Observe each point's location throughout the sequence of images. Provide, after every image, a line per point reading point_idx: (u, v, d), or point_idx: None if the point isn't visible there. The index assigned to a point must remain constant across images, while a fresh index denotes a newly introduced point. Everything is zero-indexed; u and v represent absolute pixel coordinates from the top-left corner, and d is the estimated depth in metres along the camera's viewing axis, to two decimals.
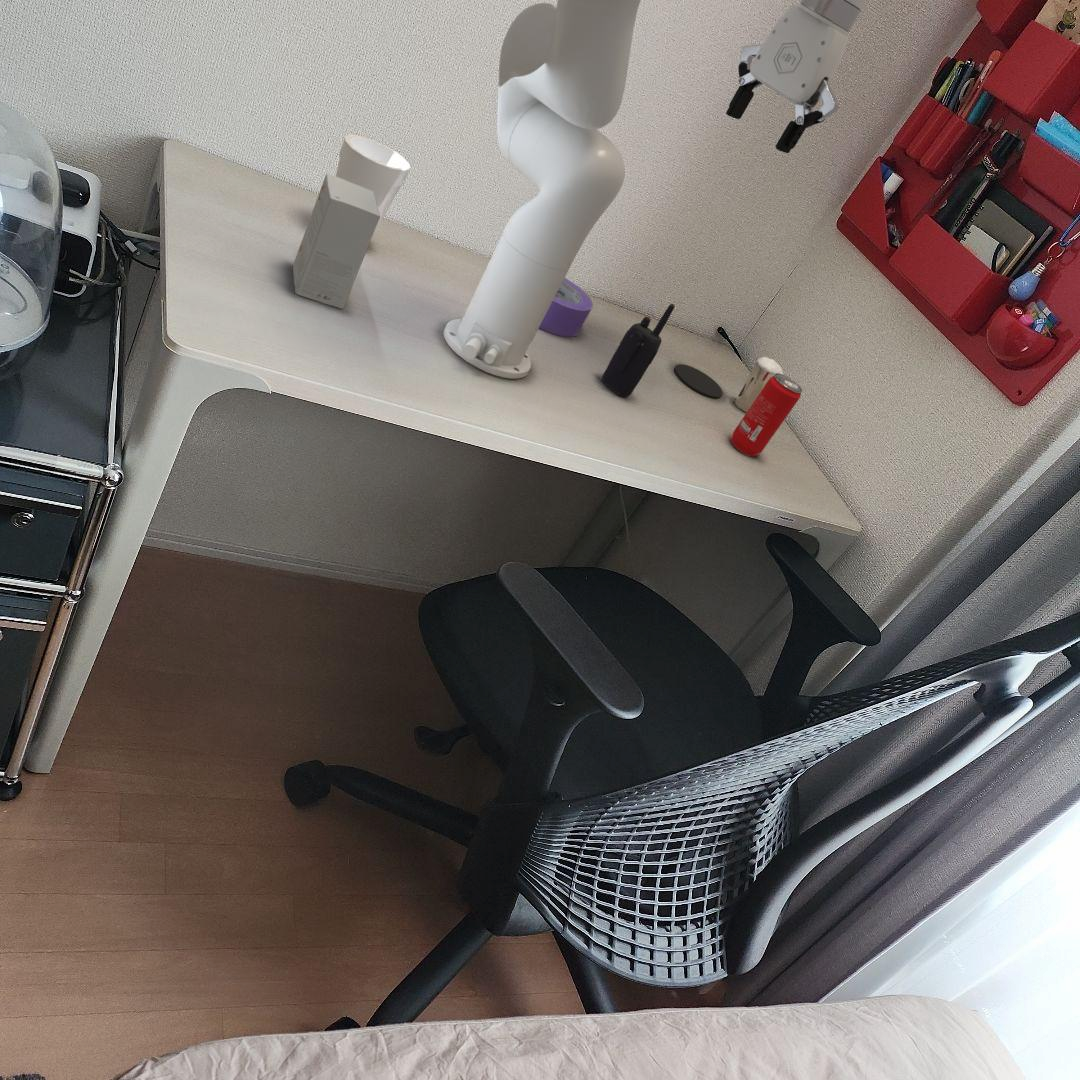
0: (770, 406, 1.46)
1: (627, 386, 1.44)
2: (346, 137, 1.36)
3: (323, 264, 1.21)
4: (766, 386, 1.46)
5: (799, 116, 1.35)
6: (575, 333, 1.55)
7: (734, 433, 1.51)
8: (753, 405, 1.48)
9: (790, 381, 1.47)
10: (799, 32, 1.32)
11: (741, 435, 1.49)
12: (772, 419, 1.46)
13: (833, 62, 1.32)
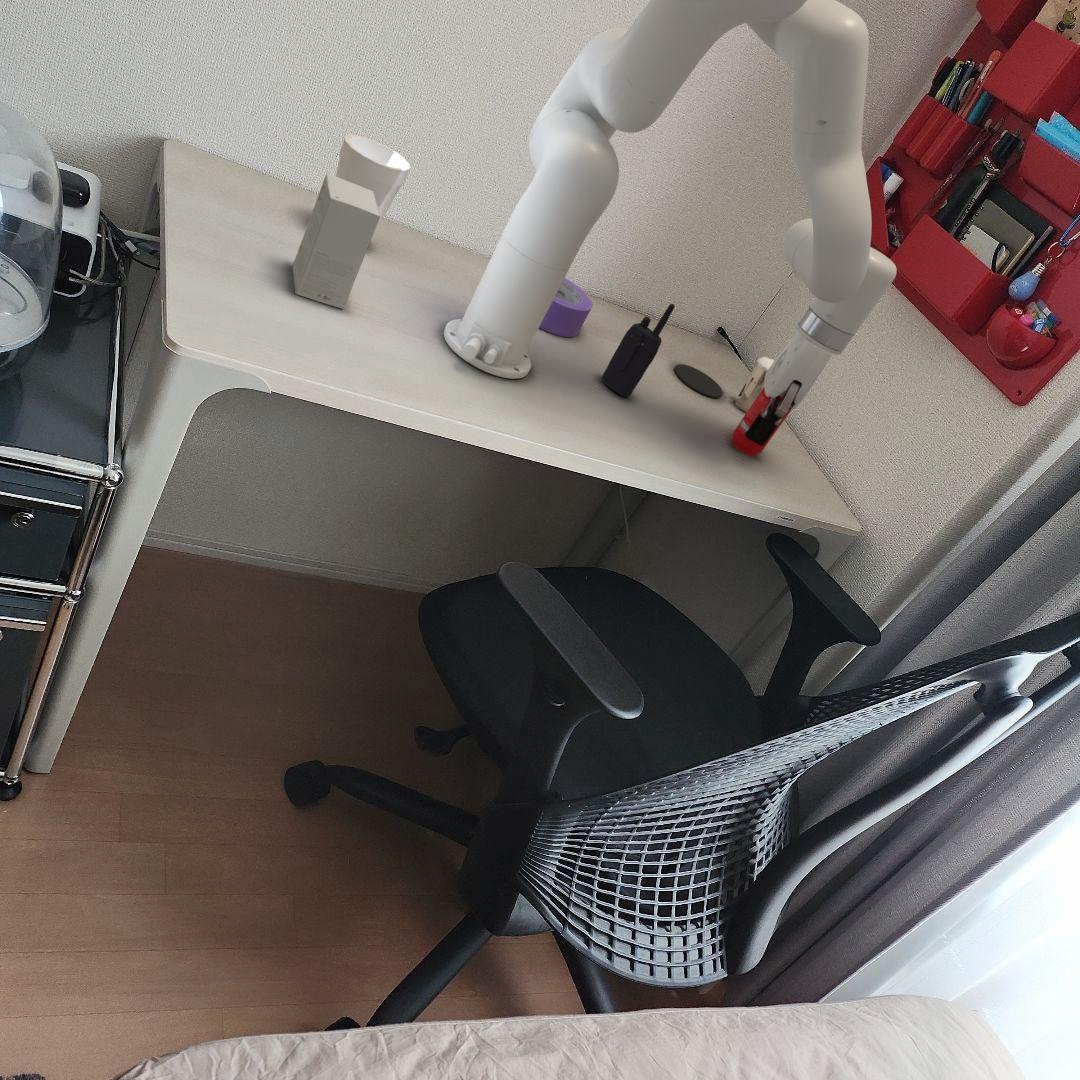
0: None
1: (627, 386, 1.44)
2: (346, 137, 1.36)
3: (323, 264, 1.21)
4: None
5: (764, 410, 1.45)
6: (575, 333, 1.55)
7: (734, 433, 1.51)
8: (753, 405, 1.48)
9: None
10: (792, 342, 1.43)
11: (741, 435, 1.49)
12: None
13: (803, 368, 1.40)
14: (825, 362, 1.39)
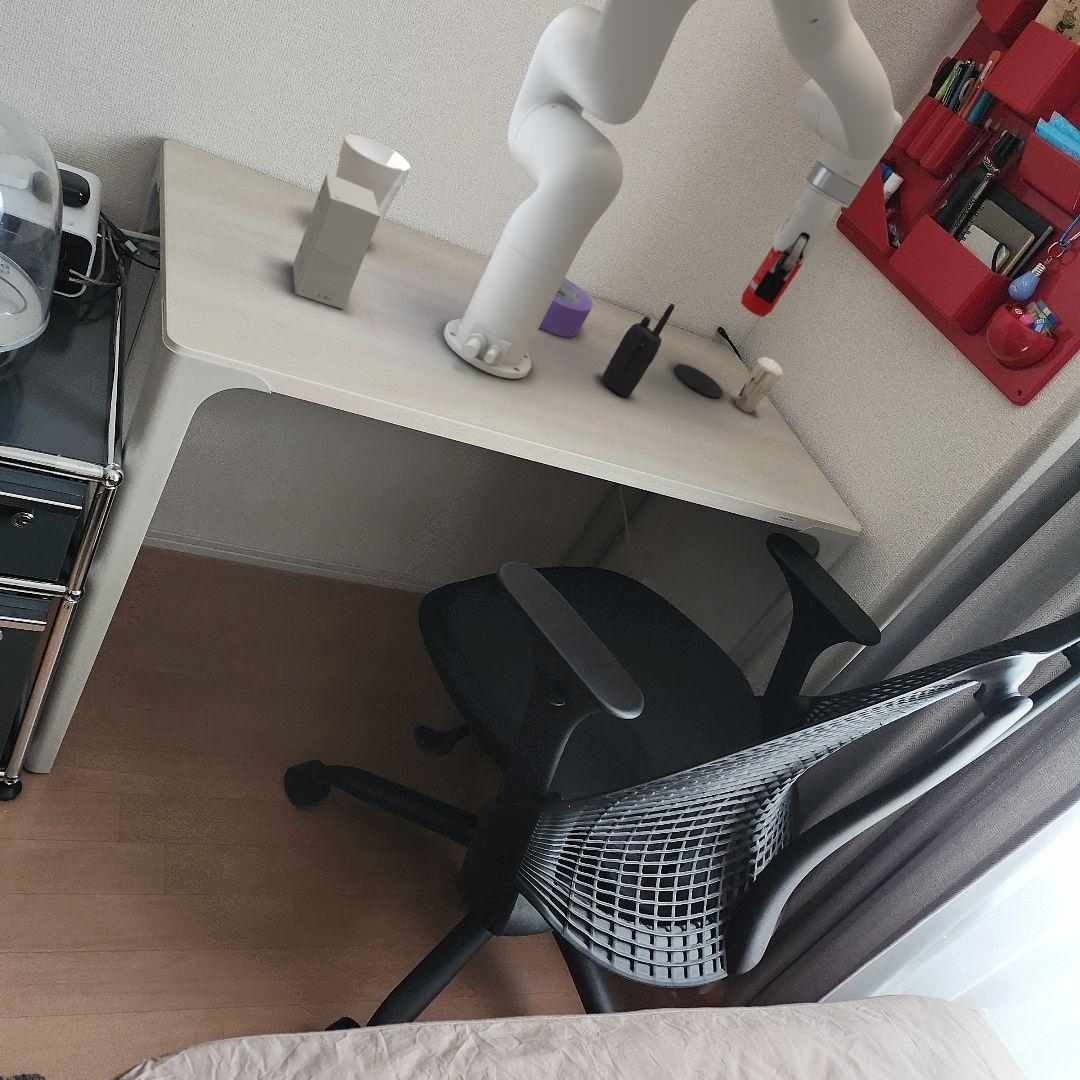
0: None
1: (627, 386, 1.44)
2: (346, 137, 1.36)
3: (323, 264, 1.21)
4: None
5: (773, 266, 1.49)
6: (575, 333, 1.55)
7: (743, 294, 1.55)
8: (762, 264, 1.52)
9: None
10: (800, 198, 1.47)
11: (751, 294, 1.53)
12: None
13: (811, 219, 1.44)
14: (832, 213, 1.43)
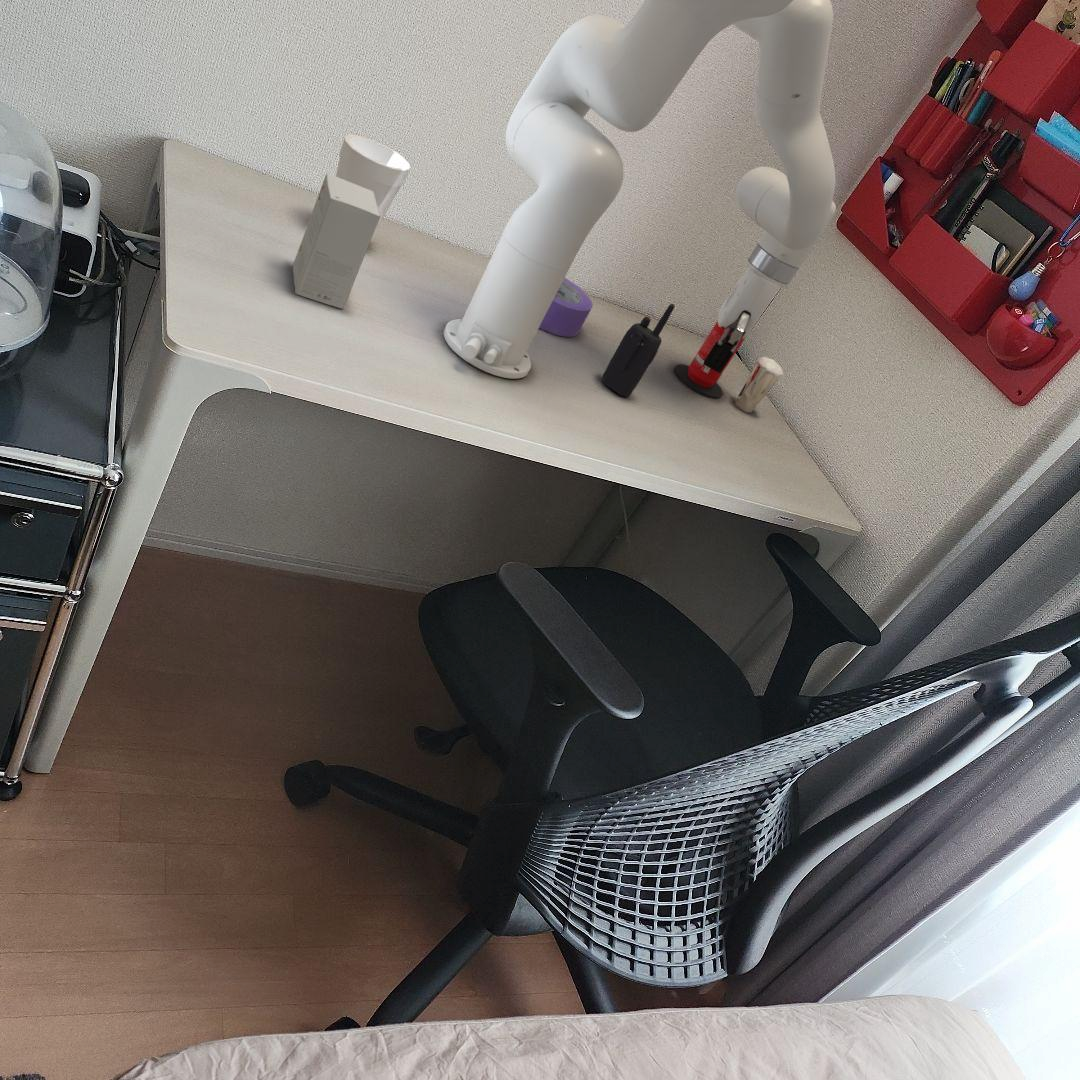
0: None
1: (627, 386, 1.44)
2: (346, 137, 1.36)
3: (323, 264, 1.21)
4: None
5: (720, 338, 1.56)
6: (575, 333, 1.55)
7: (690, 366, 1.63)
8: (706, 340, 1.61)
9: None
10: (742, 276, 1.56)
11: (696, 367, 1.62)
12: None
13: (751, 298, 1.52)
14: (772, 293, 1.52)
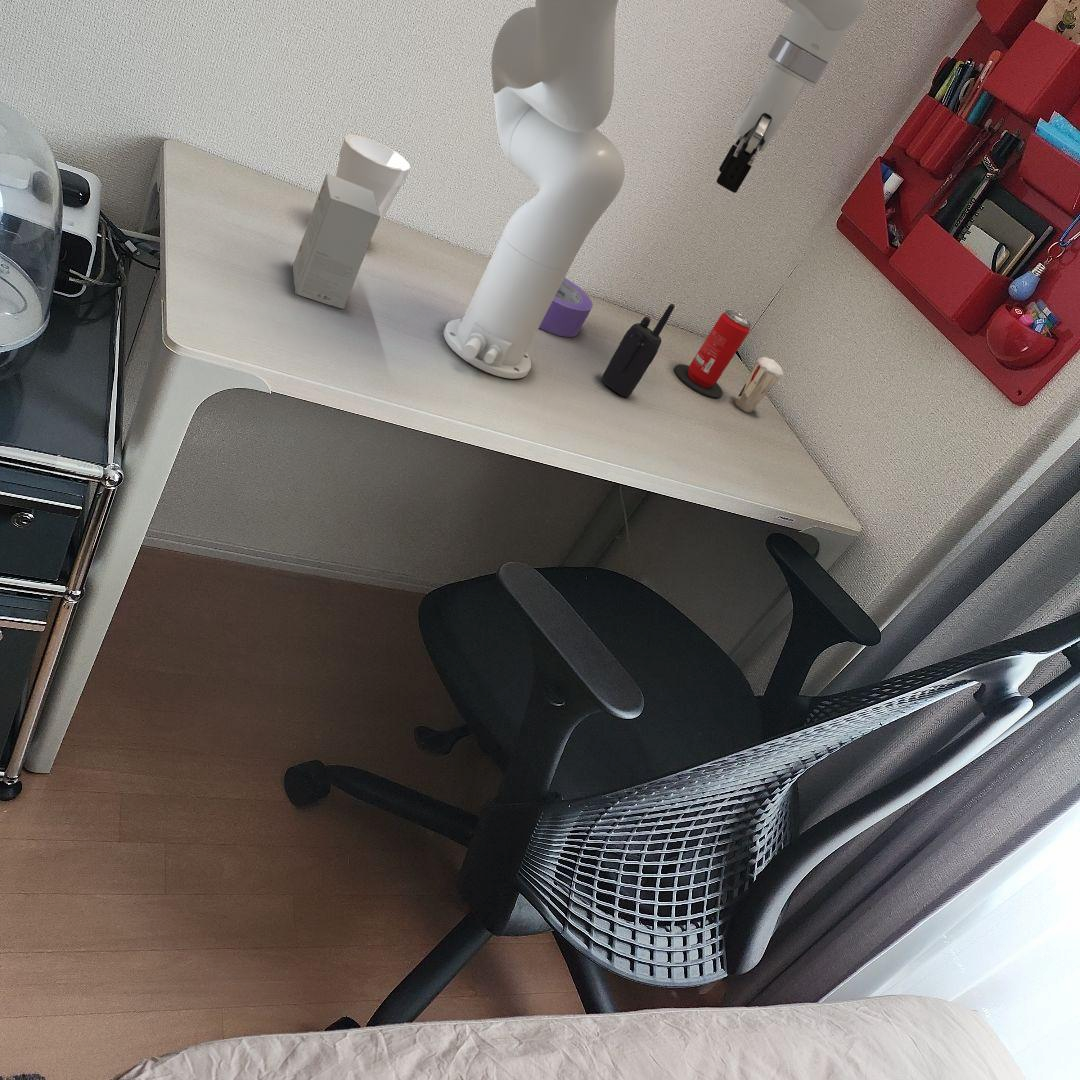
0: (722, 339, 1.58)
1: (627, 386, 1.44)
2: (346, 137, 1.36)
3: (323, 264, 1.21)
4: (718, 321, 1.59)
5: (736, 149, 1.35)
6: (575, 333, 1.55)
7: (690, 366, 1.63)
8: (706, 340, 1.61)
9: (740, 317, 1.60)
10: (762, 78, 1.35)
11: (696, 367, 1.62)
12: (723, 352, 1.59)
13: (772, 98, 1.31)
14: (796, 92, 1.31)
